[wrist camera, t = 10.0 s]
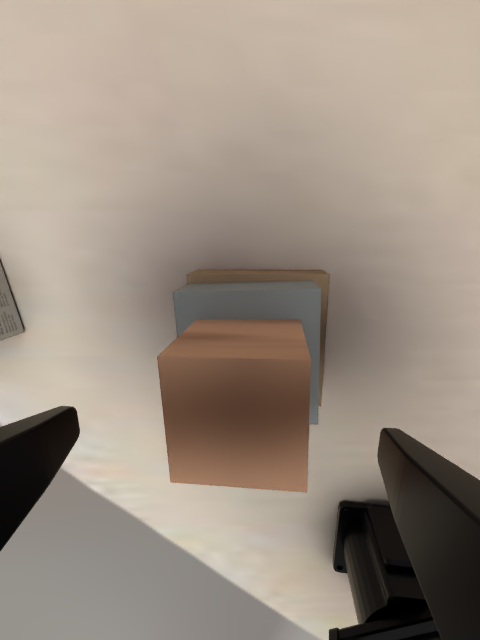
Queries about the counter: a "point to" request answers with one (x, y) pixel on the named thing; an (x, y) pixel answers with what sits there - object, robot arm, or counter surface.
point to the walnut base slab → (272, 276)
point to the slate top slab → (258, 312)
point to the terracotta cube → (238, 404)
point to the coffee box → (8, 311)
